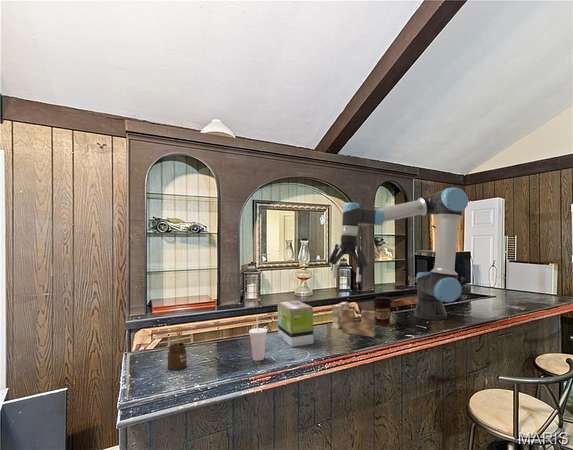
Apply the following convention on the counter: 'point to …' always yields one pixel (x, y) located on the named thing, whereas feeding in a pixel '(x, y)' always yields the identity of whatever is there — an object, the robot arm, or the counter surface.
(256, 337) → the smoothie
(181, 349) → the utensil holder
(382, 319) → the coffee cup
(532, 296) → the counter surface
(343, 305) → the maple plate
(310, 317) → the tea box
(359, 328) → the walnut board
